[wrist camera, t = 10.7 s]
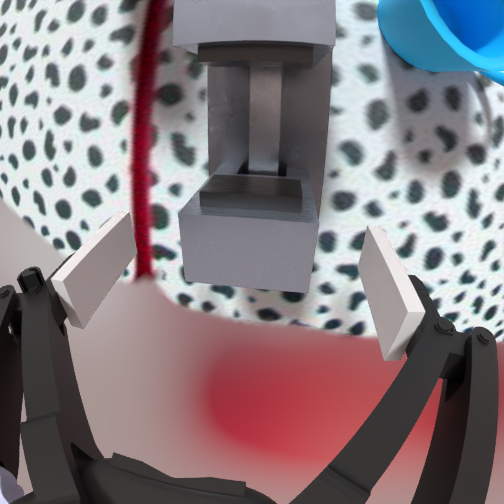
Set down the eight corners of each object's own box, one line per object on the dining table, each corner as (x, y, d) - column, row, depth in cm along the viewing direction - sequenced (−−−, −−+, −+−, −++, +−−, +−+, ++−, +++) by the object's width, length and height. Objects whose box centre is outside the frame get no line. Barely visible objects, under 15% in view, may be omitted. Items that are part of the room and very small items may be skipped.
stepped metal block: (223, 209, 24) (185, 280, 16) (222, 152, 22) (176, 198, 13) (302, 215, 24) (307, 293, 15) (308, 158, 21) (321, 207, 13)
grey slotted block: (213, 226, 26) (172, 307, 17) (212, -1, 16) (155, -54, 7) (315, 234, 25) (325, 322, 16) (330, 1, 15) (359, -59, 6)
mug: (361, 35, 16) (397, 10, 9) (394, -31, 12) (432, -68, 5) (475, 117, 17) (534, 136, 10) (501, 52, 13) (559, 54, 6)
